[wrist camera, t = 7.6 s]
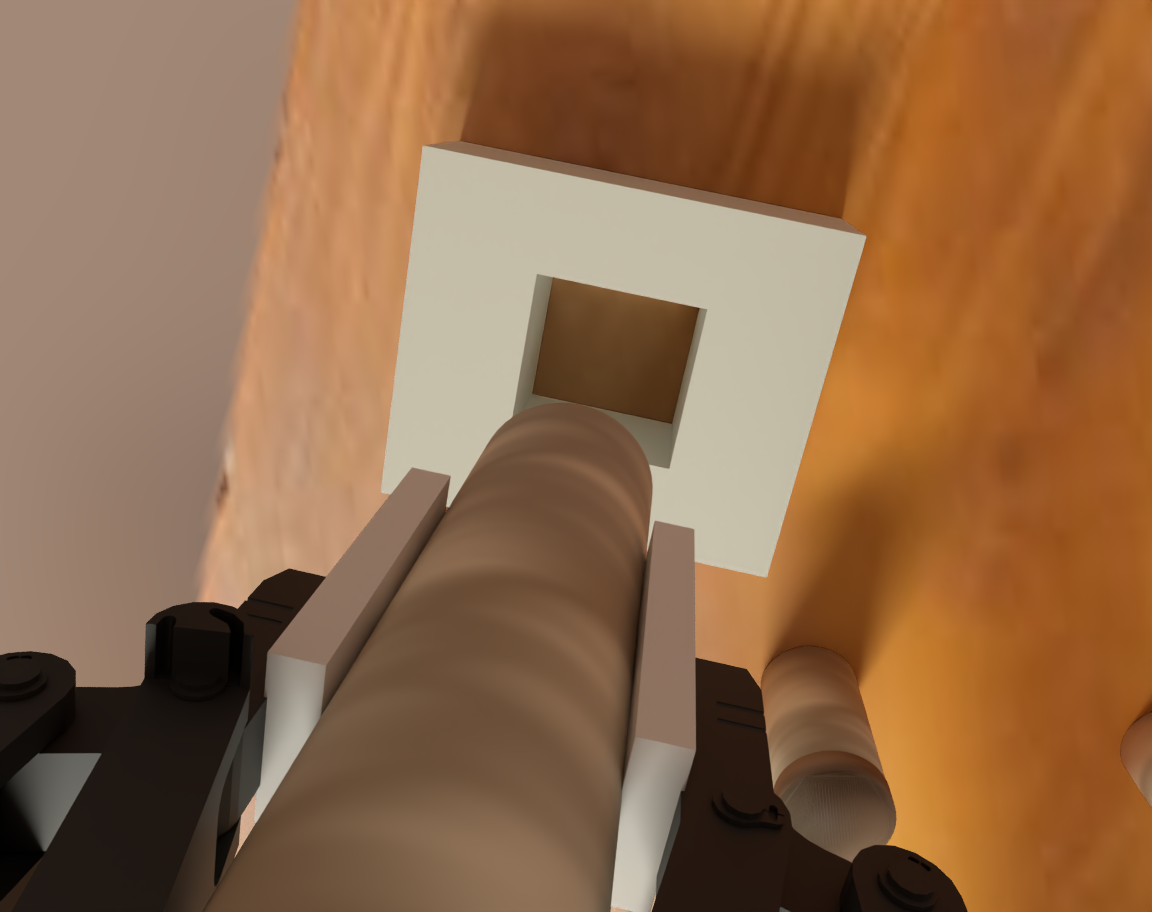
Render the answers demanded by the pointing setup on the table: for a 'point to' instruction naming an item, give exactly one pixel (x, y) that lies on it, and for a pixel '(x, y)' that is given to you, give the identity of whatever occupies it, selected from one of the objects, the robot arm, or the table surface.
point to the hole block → (633, 265)
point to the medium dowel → (825, 752)
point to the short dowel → (1139, 754)
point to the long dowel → (479, 701)
